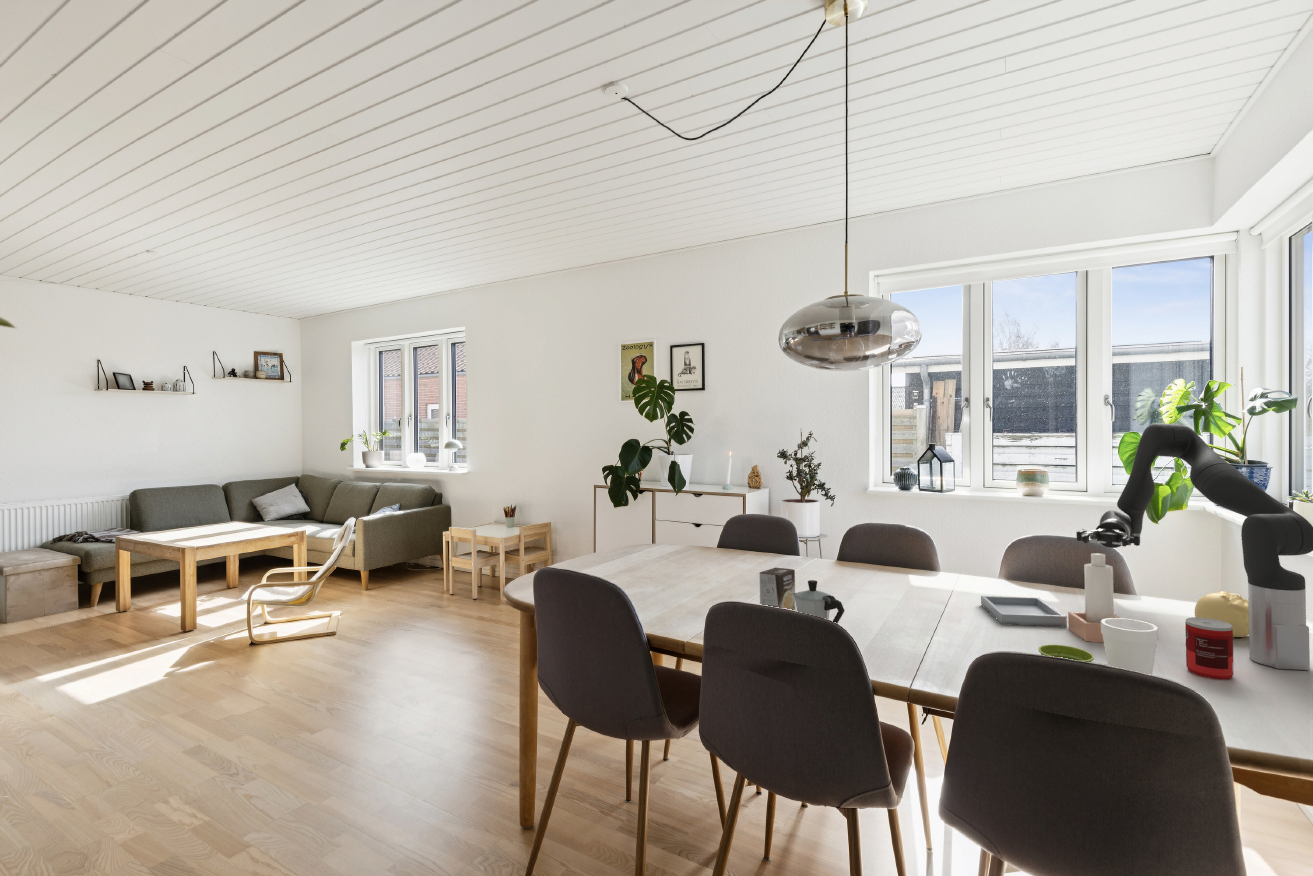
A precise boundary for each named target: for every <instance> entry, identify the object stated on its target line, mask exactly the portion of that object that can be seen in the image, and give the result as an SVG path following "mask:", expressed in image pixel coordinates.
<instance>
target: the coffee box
mask: <svg viewBox="0 0 1313 876" xmlns="http://www.w3.org/2000/svg"><path fill="white" fill-rule="evenodd" d="M795 571H796V570H795V569H792V568H786V567H782V568H781V567H774V568H770V569H766V570H763V571H760V572H759V605H760V604H762V605H768V606H773V607H779V608H787V609H792V610H795V611H796V601H795V597H794V595H793V594H792V593H796V572H795Z"/></svg>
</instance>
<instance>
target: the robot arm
mask: <svg viewBox="0 0 1313 876" xmlns="http://www.w3.org/2000/svg"><path fill="white" fill-rule="evenodd" d="M1158 457H1168V458H1171V457H1172V458H1177V459H1180V460H1182V461H1184V462H1185V463H1187V465H1189V466H1190V473H1189V478H1190V482H1191V484H1192V485H1193V487H1194V488H1195V489H1196V490H1197V491H1199V493H1200V494H1201V495H1202V496H1204V497H1205V498H1206V499H1207V500H1209V501H1210V502H1211V503H1213V504H1215V505H1217V506H1219V507H1221V508H1223V509H1226V510H1228V511H1230V512H1234V513H1236V514H1239V515H1242V516H1244V517H1246V518H1245V519H1244V520H1243V522H1242V525H1241V547H1242V557H1243V559H1242V560H1243V567H1244V570H1245V572H1246V573H1245V574H1246V575H1247V590H1248V591H1247V595H1248V596H1247V598H1248V600H1247V601H1248V612H1249V635H1248V647H1249V648H1248V649H1249V655H1248V656H1249V659H1250V660H1251V661H1254V662H1255V663H1258V664H1261V665H1265V666H1268V667H1272V668H1274V669H1277V670H1278V669H1279V670H1295V671H1296V670H1297V671H1298V670H1299V671H1301V670H1302V671H1310V670H1311V657H1310V653H1311V652H1310V627H1309V626H1307V607H1306V606H1307V604H1306V603H1307V601H1306V597H1307V596H1306V595H1307V594H1306V593H1307V592H1306V591H1307V590H1306V578H1305V577H1304V575H1302V574H1301V573H1299V572H1296V571H1292V570H1288V569H1287V568H1284V567H1283V566H1282V565H1281V562H1280V558H1279V557H1280V556H1283V557H1284V556H1285V557H1286V556H1293V557H1294V556H1303V555H1307V554H1310V553H1312V552H1313V524H1312V523H1311V522H1310V521H1309V520H1307V519H1306V518H1305V517H1304V516H1302V515H1301V514H1300V513H1298V512H1296V511H1295V510H1293V509H1291V508H1290V507H1289V506H1286V505H1285V504H1283V503H1282V502H1280V501H1278V500H1277V499H1275V498H1274V497H1272V496H1271V495H1270V494H1269V493H1267V492H1266V491H1264V490H1263V489H1262V488H1260V486H1258V485H1257V484H1255V483H1254V482H1252V481H1251V480H1250V479H1249V478H1248V477H1247V476H1245V475H1244V473H1242V472H1241V471H1240V470H1238V469H1237V468H1236V467H1235V466H1233V465H1232V464H1231V463H1229V462H1228V461H1226V460H1225V459H1224V458H1223V457H1221V455H1219V453H1217V452H1216V451H1214V450H1213V449H1212V448H1211V447H1210V446H1209V445H1208V444H1207V443H1206V442H1205V441H1204V440H1203V439H1202V438H1201V436H1199V434H1198V433H1197V432H1196V431H1194V429H1192V427H1189V426H1186V425H1184V424H1179V423H1178V424H1176V423H1160V422H1158V423H1155V422H1154V423H1151V424H1149V425H1147V427H1145V429H1144V430H1143V432H1142V434H1141V436H1140V439H1139V442H1138V446H1137V449H1136V452H1135V455H1134V459H1133V464H1132V467H1131V471H1130V475H1129V477H1128V479H1127V482H1126V485H1124V488H1123V490H1122V492H1121V494H1120V496H1119V498H1118V499H1117V503H1116V506H1117V508H1118V509H1119V510H1120V512H1119V511H1117V510H1113V509H1111V510H1107V511H1105V512H1104V513H1103V514H1102V515H1101V517H1100V520H1099V524H1098V525H1097V526H1096V528H1095V529H1091V530H1089V531H1087V530H1086V529H1085V528H1081V529H1079V530H1077V531H1076V541H1079V542H1083V544H1088V543H1089V542H1090V543H1093V544H1097V543H1098V544H1099V545H1102V546H1103V547H1105V548H1109V549H1116V548H1121V547H1127V546H1131V545H1132V544H1133V545H1134V546H1136V547H1137V546H1140V545H1141V533H1142V530H1143V521H1144V515H1145V512H1146V511H1147V508H1148V506H1149V504H1150V503H1151V501H1152V498H1153V496H1154V494H1155V489H1156V487H1155V482H1154V478H1153V474H1152V465H1153V463H1154V461H1155V460H1156V459H1157V458H1158ZM1122 512H1123V513H1122Z"/></svg>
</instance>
